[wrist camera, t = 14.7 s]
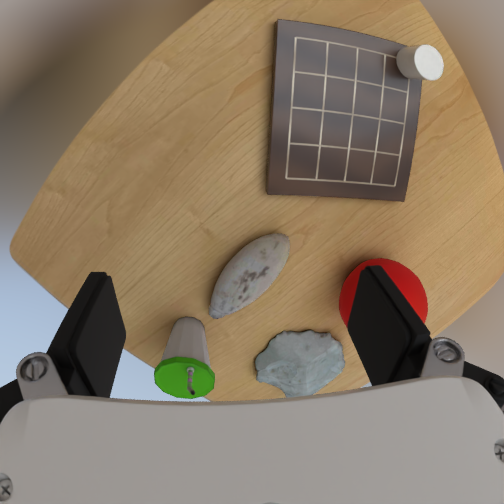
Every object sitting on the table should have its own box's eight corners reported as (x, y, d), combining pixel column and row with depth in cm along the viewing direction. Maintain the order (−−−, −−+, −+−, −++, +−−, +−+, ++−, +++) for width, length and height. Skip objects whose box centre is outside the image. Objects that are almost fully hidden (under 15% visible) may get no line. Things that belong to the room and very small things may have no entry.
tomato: (320, 263, 42) (351, 325, 31) (395, 231, 41) (444, 281, 30) (339, 323, 48) (366, 384, 37) (404, 295, 46) (441, 348, 35)
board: (275, 21, 27) (277, 18, 25) (417, 51, 29) (424, 51, 27) (265, 190, 36) (267, 194, 35) (398, 198, 38) (404, 202, 37)
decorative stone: (195, 300, 43) (193, 316, 40) (261, 213, 38) (264, 225, 35) (231, 318, 45) (232, 335, 42) (299, 238, 40) (305, 251, 37)
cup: (186, 352, 48) (180, 432, 35) (152, 322, 45) (135, 405, 31) (225, 332, 46) (229, 416, 33) (192, 299, 43) (184, 385, 30)
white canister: (396, 42, 27) (415, 39, 23) (425, 52, 27) (444, 50, 24) (395, 75, 29) (413, 75, 25) (423, 83, 29) (442, 84, 26)
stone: (357, 334, 45) (342, 401, 50) (349, 320, 49) (337, 386, 54) (255, 338, 45) (254, 407, 50) (254, 323, 49) (254, 391, 54)
